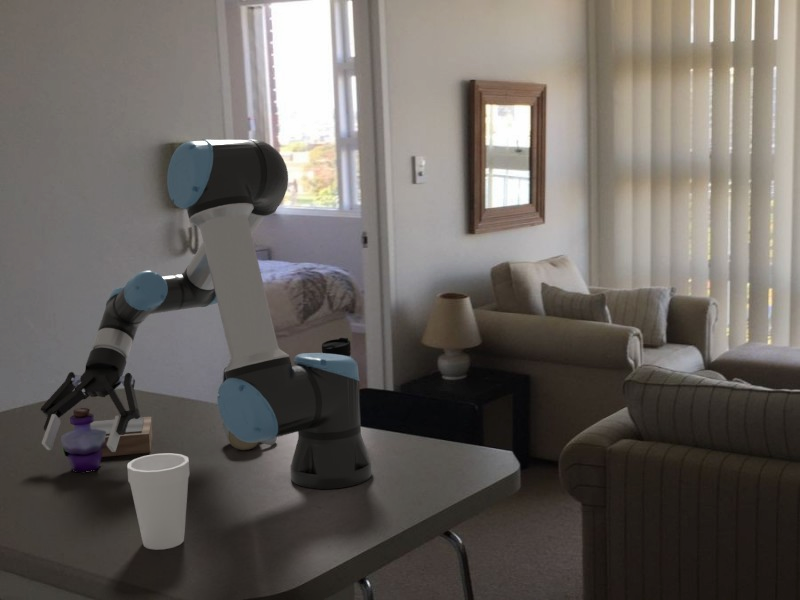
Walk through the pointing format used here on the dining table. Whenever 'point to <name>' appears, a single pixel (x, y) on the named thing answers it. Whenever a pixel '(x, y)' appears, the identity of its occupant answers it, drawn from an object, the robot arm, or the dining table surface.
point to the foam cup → (160, 498)
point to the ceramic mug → (241, 444)
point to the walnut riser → (128, 436)
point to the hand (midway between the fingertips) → (78, 447)
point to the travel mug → (337, 347)
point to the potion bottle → (83, 442)
